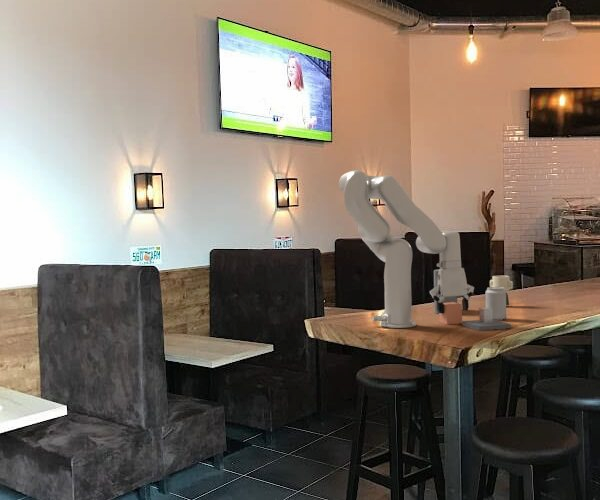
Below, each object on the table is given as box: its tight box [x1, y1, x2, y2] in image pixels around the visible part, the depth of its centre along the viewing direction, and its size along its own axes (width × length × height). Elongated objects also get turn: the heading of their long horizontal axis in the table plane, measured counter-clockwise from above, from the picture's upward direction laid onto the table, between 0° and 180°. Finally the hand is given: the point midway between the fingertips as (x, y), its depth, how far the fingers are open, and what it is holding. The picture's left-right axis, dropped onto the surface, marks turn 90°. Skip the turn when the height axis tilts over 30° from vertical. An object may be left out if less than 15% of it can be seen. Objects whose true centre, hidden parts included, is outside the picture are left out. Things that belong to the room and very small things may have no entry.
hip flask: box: [433, 268, 458, 315], centre depth 265 cm, size 16×4×20 cm, turn 139°
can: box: [485, 286, 507, 321], centre depth 241 cm, size 8×8×12 cm
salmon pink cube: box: [438, 302, 463, 325], centre depth 236 cm, size 6×6×7 cm
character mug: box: [489, 275, 514, 306], centre depth 275 cm, size 11×7×13 cm, turn 41°
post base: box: [461, 307, 512, 332], centre depth 225 cm, size 12×12×6 cm
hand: (453, 311), depth 236 cm, fingers open, 9 cm apart
